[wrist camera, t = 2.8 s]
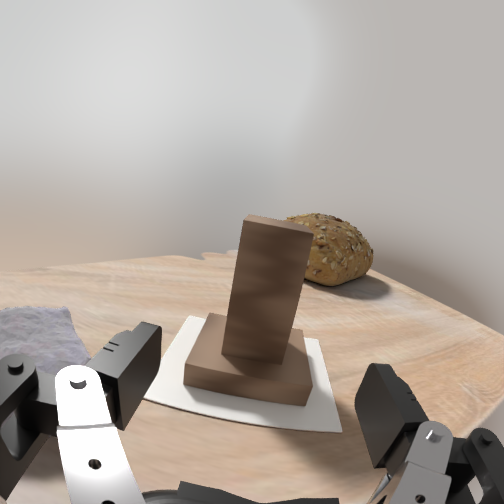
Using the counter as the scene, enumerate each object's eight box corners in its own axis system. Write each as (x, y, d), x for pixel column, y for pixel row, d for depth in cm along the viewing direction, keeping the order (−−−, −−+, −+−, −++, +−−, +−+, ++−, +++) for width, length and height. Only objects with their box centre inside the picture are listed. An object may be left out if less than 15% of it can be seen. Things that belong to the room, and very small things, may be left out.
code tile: (138, 396, 17) (138, 395, 17) (189, 316, 31) (189, 315, 31) (342, 432, 17) (342, 431, 17) (317, 340, 30) (318, 339, 30)
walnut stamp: (183, 384, 19) (202, 217, 17) (207, 330, 28) (226, 207, 26) (305, 406, 19) (355, 246, 17) (297, 347, 28) (327, 227, 25)
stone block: (-5, 467, 8) (124, 423, 14) (-50, 413, 6) (100, 365, 13) (-15, 363, 16) (74, 334, 22) (-36, 315, 14) (61, 286, 21)
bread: (300, 252, 78) (309, 208, 76) (374, 277, 65) (387, 227, 63) (239, 259, 59) (249, 200, 57) (335, 297, 47) (353, 225, 44)
